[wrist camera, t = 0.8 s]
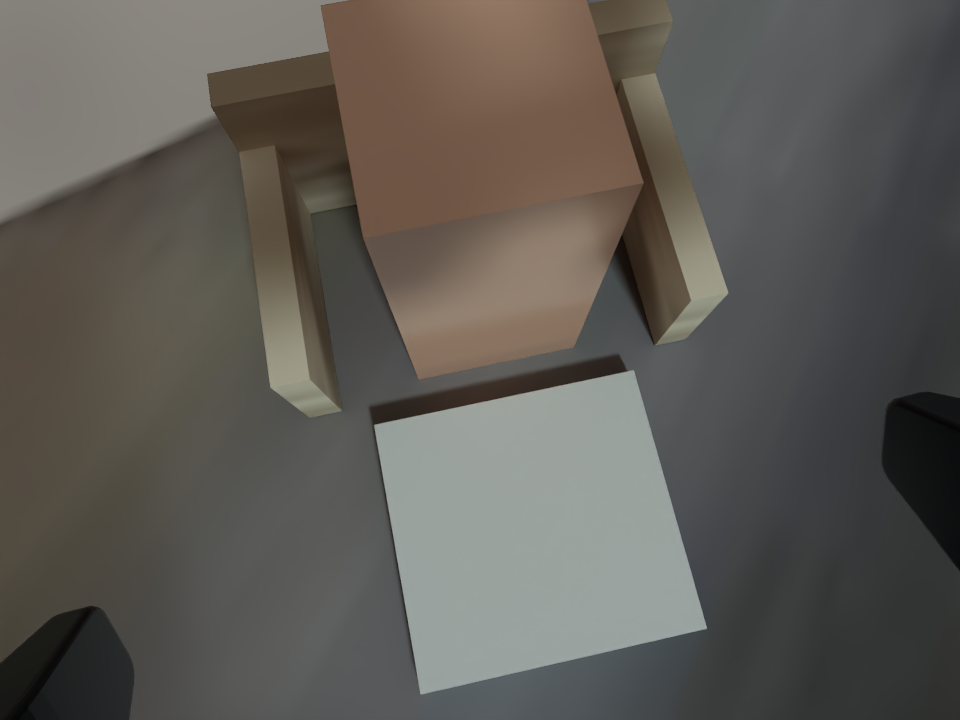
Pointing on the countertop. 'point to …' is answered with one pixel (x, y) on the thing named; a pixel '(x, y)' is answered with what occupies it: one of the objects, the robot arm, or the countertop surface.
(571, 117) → the brown rectangular block
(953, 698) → the countertop surface
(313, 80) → the cubby
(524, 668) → the mat
